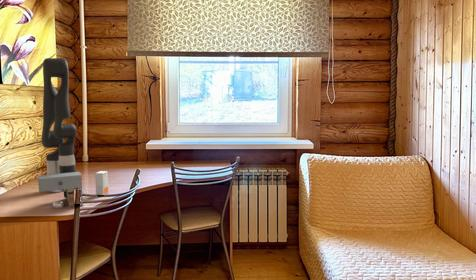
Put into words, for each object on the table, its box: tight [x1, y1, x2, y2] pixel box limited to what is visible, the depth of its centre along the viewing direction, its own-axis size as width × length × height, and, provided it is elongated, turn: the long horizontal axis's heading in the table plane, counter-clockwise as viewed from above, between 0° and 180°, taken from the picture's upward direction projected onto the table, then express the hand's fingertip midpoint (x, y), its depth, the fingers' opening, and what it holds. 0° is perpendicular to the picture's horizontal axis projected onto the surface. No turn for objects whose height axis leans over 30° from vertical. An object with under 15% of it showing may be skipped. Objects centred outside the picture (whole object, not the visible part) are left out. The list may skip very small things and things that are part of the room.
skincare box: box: [94, 170, 109, 196], centre depth 224 cm, size 6×4×12 cm
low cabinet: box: [37, 171, 84, 207], centre depth 201 cm, size 10×18×15 cm, turn 115°
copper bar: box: [66, 189, 75, 208], centre depth 209 cm, size 18×2×6 cm, turn 26°
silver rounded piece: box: [52, 201, 65, 209], centre depth 202 cm, size 5×5×2 cm
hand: (69, 197), depth 214 cm, fingers closed on copper bar, 2 cm apart
